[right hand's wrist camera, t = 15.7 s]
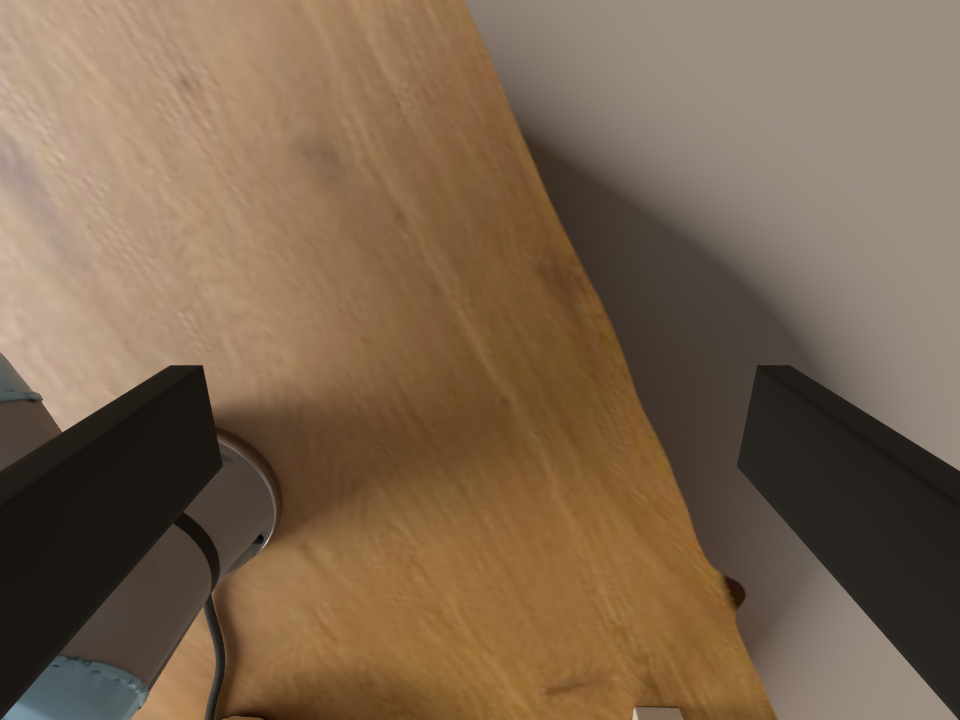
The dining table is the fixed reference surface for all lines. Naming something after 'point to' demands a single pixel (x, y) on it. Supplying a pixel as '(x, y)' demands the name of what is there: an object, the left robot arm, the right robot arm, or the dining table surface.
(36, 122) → the dining table surface
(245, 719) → the bowl
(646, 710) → the block
